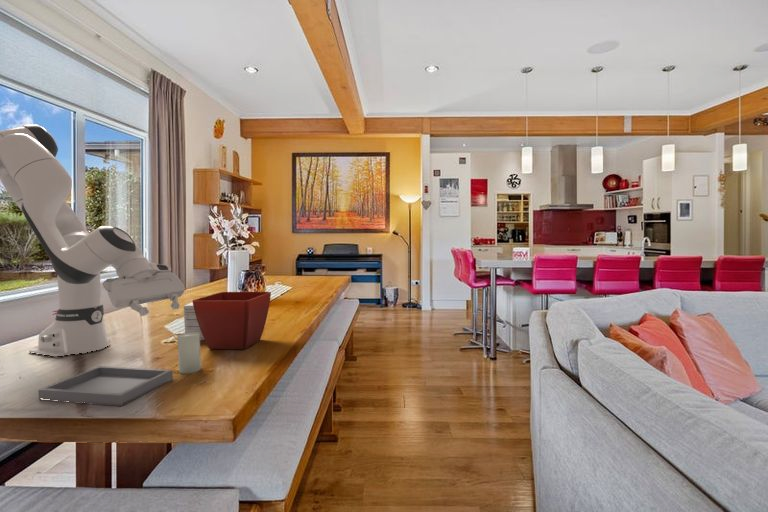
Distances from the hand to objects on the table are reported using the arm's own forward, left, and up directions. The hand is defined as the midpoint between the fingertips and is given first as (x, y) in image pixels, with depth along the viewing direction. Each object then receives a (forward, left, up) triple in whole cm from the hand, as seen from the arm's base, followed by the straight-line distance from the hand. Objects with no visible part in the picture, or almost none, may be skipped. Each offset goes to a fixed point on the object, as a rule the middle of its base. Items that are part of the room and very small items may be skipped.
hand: (161, 310), depth 112 cm
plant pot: (+9, +23, -16) cm, 30 cm away
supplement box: (-9, +29, -16) cm, 35 cm away
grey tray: (-1, -17, -16) cm, 23 cm away
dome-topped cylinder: (+10, -2, -16) cm, 19 cm away
